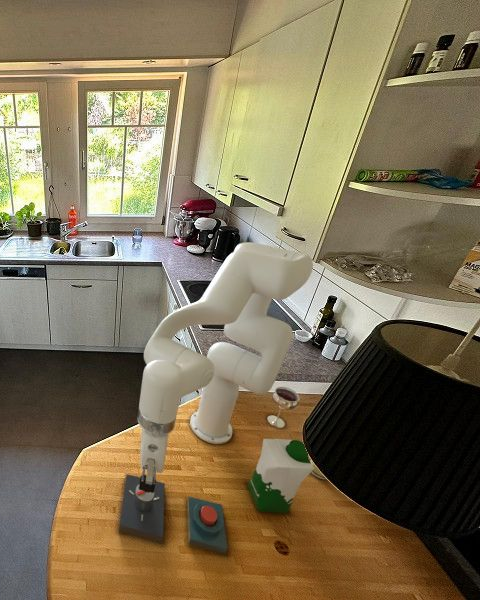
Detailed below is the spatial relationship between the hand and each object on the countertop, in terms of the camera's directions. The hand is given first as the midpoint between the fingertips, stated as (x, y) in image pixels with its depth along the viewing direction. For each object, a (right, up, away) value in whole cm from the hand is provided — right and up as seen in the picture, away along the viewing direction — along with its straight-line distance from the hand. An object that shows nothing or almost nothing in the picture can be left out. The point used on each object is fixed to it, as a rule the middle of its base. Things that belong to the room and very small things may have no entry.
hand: (147, 469), depth 74 cm
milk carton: (+33, -13, +10) cm, 37 cm away
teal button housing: (+15, -16, +4) cm, 22 cm away
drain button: (+15, -13, +2) cm, 19 cm away
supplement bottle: (+51, -9, +17) cm, 55 cm away
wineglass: (+49, -1, +32) cm, 58 cm away
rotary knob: (0, -11, +6) cm, 13 cm away
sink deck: (0, -14, +7) cm, 16 cm away
